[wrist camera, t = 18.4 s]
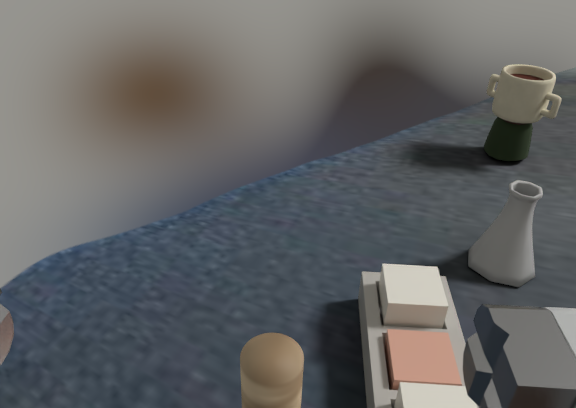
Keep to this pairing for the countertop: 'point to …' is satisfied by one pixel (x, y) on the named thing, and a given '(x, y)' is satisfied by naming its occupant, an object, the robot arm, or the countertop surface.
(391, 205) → the countertop surface
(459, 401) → the ivory key
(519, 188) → the flask
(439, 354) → the terracotta key
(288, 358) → the tan wooden cylinder
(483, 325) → the robot arm
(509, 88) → the character mug
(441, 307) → the ivory key
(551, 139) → the countertop surface
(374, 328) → the keypad bezel
